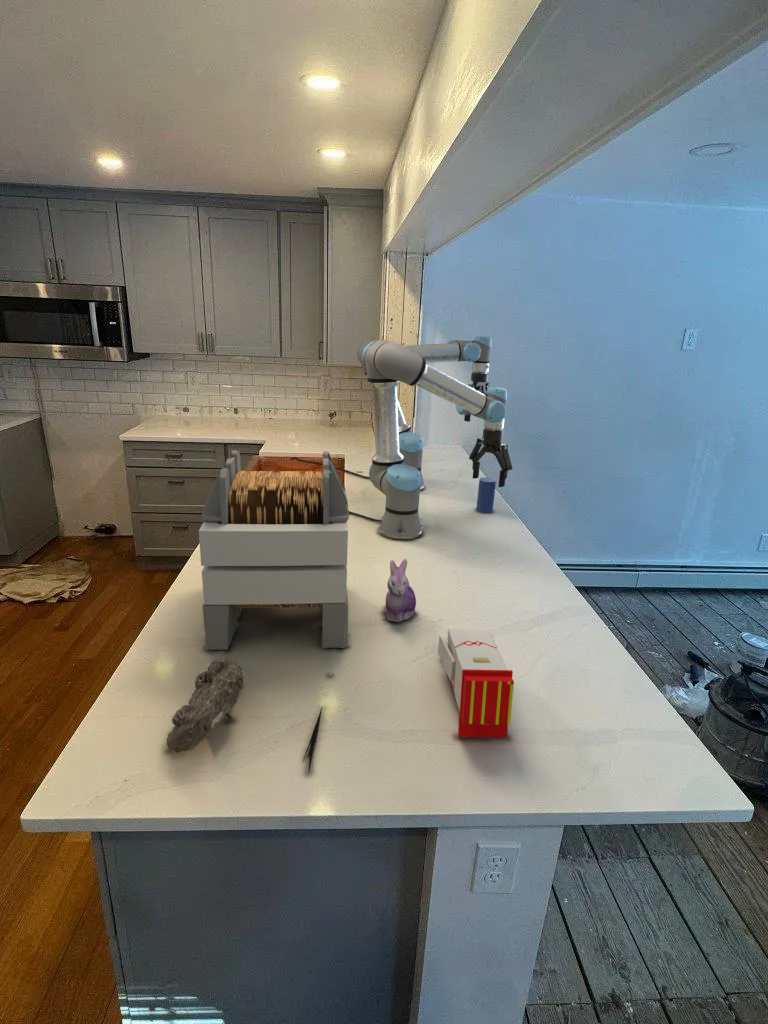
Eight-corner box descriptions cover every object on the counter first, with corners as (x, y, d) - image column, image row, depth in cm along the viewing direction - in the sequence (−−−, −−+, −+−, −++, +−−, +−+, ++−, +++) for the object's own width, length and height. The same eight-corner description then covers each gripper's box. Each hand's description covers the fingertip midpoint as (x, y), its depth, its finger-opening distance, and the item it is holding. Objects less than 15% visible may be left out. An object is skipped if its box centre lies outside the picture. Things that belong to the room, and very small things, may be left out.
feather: (331, 679, 122) (336, 673, 122) (307, 777, 96) (313, 769, 95) (324, 675, 122) (329, 669, 121) (298, 772, 95) (304, 764, 95)
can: (483, 506, 232) (486, 476, 227) (496, 511, 227) (499, 480, 223) (472, 509, 228) (476, 478, 223) (485, 514, 223) (488, 483, 219)
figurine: (392, 627, 141) (395, 572, 136) (374, 608, 149) (376, 556, 144) (425, 619, 145) (429, 566, 140) (405, 601, 154) (408, 550, 149)
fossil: (192, 660, 117) (244, 628, 112) (224, 691, 120) (276, 661, 115) (142, 746, 98) (202, 712, 93) (182, 779, 101) (242, 748, 96)
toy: (488, 613, 130) (523, 677, 101) (484, 667, 133) (517, 744, 104) (435, 612, 130) (455, 676, 101) (432, 666, 133) (451, 743, 103)
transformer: (226, 583, 159) (217, 441, 145) (342, 582, 163) (345, 443, 149) (203, 652, 127) (189, 478, 114) (348, 648, 131) (352, 480, 117)
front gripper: (525, 434, 209) (519, 488, 216) (476, 422, 227) (471, 473, 235) (512, 436, 205) (506, 492, 212) (462, 424, 223) (458, 475, 230)
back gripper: (471, 374, 243) (466, 424, 250) (501, 372, 260) (496, 418, 267) (457, 373, 247) (452, 421, 254) (488, 370, 265) (483, 415, 272)
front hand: (488, 482), depth 223 cm, fingers open, 13 cm apart
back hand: (475, 419), depth 261 cm, fingers open, 13 cm apart
